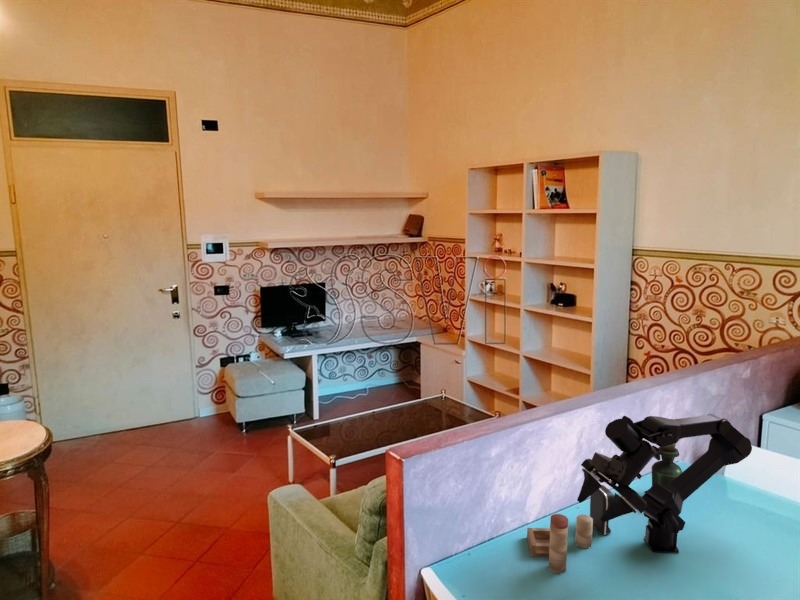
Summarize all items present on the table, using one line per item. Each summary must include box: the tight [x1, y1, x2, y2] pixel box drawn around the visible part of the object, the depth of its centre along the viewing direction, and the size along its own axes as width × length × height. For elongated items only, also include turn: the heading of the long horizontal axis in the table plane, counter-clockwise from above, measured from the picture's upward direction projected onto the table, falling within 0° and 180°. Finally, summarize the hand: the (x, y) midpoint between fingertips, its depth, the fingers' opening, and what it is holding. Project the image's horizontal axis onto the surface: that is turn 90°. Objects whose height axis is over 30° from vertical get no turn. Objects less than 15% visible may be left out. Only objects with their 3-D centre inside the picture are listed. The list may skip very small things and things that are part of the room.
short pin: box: [574, 514, 594, 549], centre depth 149 cm, size 4×4×7 cm
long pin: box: [548, 513, 569, 574], centre depth 138 cm, size 4×4×13 cm
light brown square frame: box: [526, 527, 550, 558], centre depth 148 cm, size 8×8×3 cm
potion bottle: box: [651, 443, 683, 487], centre depth 169 cm, size 8×8×18 cm
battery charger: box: [589, 484, 615, 536], centre depth 155 cm, size 7×4×11 cm, turn 12°
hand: (589, 511), depth 140 cm, fingers open, 9 cm apart
